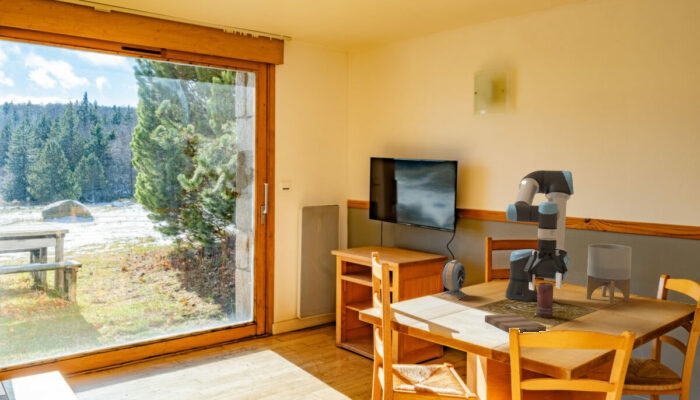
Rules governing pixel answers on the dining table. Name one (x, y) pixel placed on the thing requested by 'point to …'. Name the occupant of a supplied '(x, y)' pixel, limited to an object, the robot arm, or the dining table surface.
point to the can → (545, 300)
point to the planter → (609, 269)
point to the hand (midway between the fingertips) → (545, 289)
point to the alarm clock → (454, 280)
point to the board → (514, 322)
